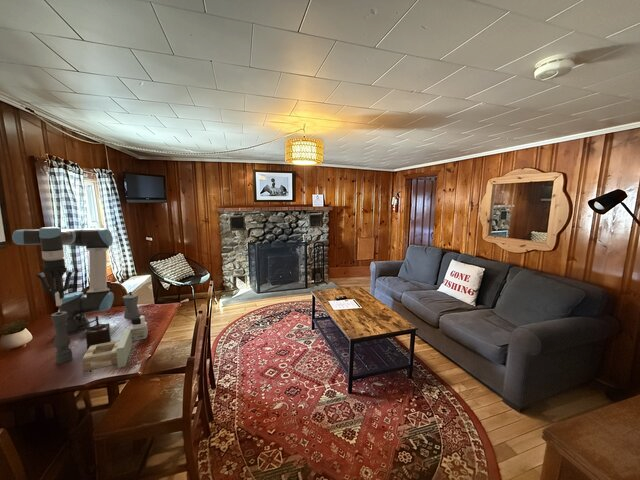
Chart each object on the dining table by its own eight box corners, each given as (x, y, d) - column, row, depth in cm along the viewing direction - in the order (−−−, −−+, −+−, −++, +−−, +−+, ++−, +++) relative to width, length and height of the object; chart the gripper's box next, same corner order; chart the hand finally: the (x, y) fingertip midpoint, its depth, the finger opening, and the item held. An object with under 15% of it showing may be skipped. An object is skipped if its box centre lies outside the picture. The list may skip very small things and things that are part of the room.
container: (130, 341, 157) (129, 320, 155) (132, 335, 163) (131, 315, 162) (146, 338, 160) (145, 317, 159) (147, 333, 167) (146, 313, 165)
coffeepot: (141, 317, 190) (140, 292, 188) (125, 320, 184) (123, 295, 182) (137, 310, 201) (135, 287, 199) (121, 314, 195) (120, 290, 193)
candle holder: (63, 357, 140) (58, 311, 137) (75, 356, 140) (71, 311, 137) (52, 363, 134) (46, 316, 130) (65, 363, 134) (60, 316, 131)
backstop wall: (125, 346, 150) (124, 330, 149) (132, 345, 152) (130, 329, 151) (117, 367, 131) (116, 348, 130) (125, 366, 133) (123, 347, 131)
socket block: (91, 356, 140) (90, 345, 140) (123, 350, 147) (123, 339, 146) (83, 370, 128) (81, 359, 127) (118, 363, 135) (118, 352, 134)
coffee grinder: (111, 337, 161) (108, 308, 159) (110, 344, 153) (108, 314, 150) (76, 344, 152) (73, 314, 150) (74, 353, 143) (70, 321, 141)
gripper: (31, 261, 123) (38, 310, 127) (68, 259, 129) (74, 305, 133) (38, 258, 130) (44, 304, 133) (73, 256, 136) (78, 300, 139)
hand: (59, 305), depth 133 cm, fingers closed
